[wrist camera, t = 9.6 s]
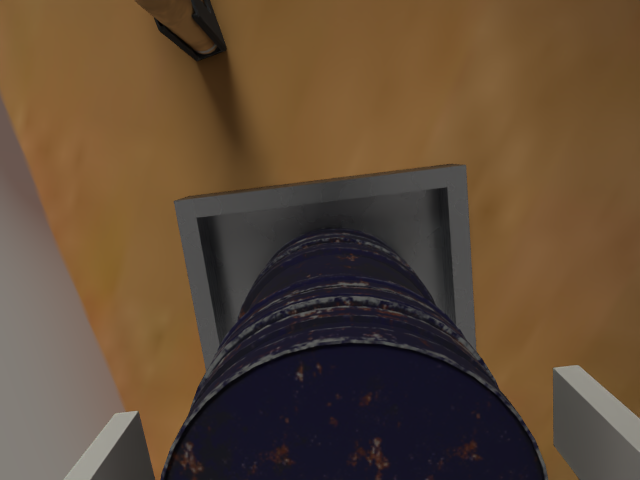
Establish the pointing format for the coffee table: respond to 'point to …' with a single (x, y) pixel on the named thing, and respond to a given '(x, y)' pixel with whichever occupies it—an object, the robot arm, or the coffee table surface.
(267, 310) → the storage jar
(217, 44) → the ammunition clip
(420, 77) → the coffee table surface
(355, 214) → the cradle tray
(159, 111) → the coffee table surface
